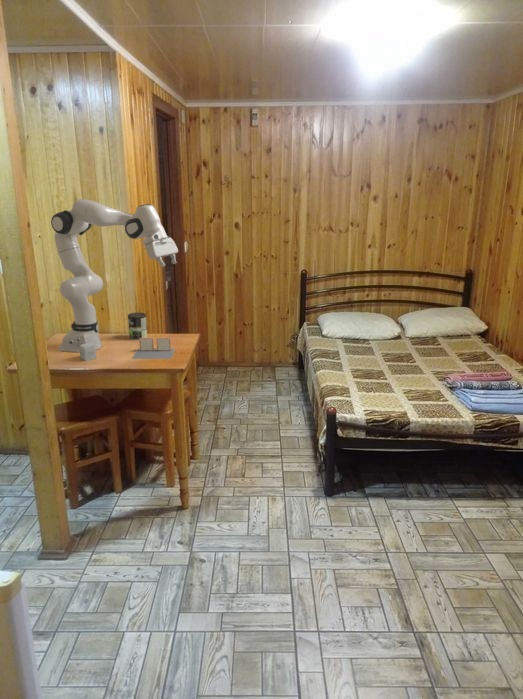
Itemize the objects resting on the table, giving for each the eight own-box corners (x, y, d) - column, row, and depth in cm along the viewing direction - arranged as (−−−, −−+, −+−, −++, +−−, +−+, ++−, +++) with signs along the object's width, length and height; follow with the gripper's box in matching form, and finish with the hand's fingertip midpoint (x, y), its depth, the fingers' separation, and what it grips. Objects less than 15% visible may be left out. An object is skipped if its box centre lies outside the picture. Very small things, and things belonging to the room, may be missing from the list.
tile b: (157, 351, 263) (156, 338, 261) (157, 350, 264) (157, 337, 262) (170, 351, 263) (169, 338, 261) (170, 349, 265) (170, 337, 263)
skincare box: (96, 358, 252) (95, 344, 250) (85, 361, 248) (83, 347, 246) (91, 355, 256) (89, 342, 254) (80, 358, 252) (78, 344, 250)
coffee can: (133, 342, 278) (131, 318, 274) (126, 337, 286) (124, 314, 281) (150, 339, 284) (149, 315, 279) (143, 334, 292) (141, 311, 287)
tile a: (140, 351, 262) (139, 338, 260) (140, 350, 264) (139, 337, 262) (153, 351, 263) (152, 338, 261) (154, 350, 264) (153, 337, 262)
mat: (131, 359, 251) (131, 358, 251) (137, 349, 266) (137, 348, 266) (171, 359, 252) (171, 358, 252) (175, 349, 267) (175, 348, 267)
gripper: (164, 237, 242) (175, 264, 244) (139, 242, 224) (152, 270, 226) (174, 233, 239) (185, 259, 241) (150, 237, 221) (162, 265, 223)
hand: (169, 265), depth 234 cm, fingers open, 8 cm apart
